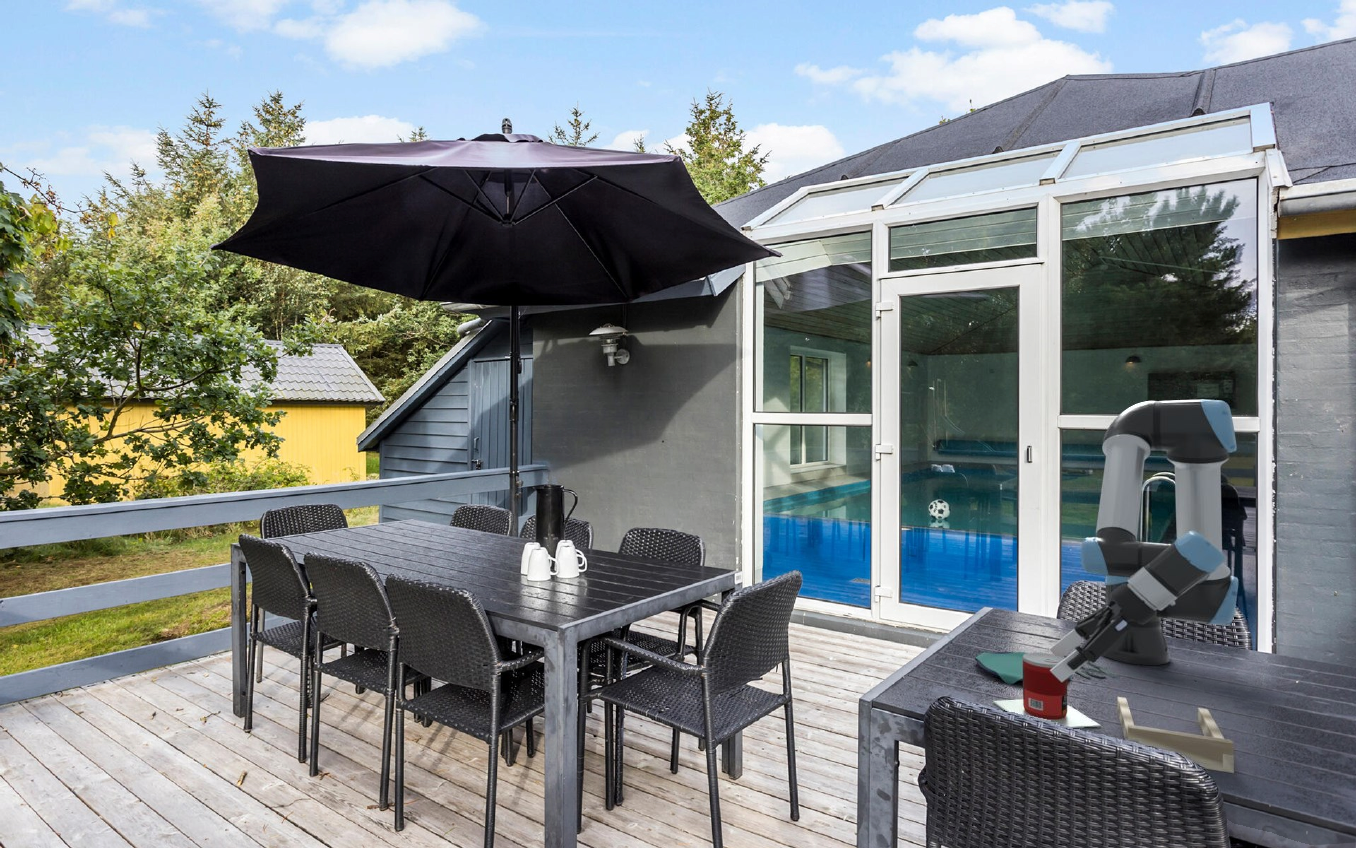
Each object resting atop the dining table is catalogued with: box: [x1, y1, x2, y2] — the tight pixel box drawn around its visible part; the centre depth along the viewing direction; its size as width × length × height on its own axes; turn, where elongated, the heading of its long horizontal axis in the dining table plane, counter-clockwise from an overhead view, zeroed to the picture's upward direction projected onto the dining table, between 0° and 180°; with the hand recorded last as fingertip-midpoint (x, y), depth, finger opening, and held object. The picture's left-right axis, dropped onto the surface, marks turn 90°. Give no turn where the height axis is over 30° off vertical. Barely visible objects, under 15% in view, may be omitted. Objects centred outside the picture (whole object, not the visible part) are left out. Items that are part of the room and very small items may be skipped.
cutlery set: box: [974, 651, 1120, 685], centre depth 171 cm, size 20×30×2 cm, turn 94°
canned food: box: [1022, 652, 1068, 720], centre depth 146 cm, size 8×8×11 cm
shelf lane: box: [1116, 696, 1235, 774], centre depth 134 cm, size 22×15×5 cm
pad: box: [993, 698, 1101, 729], centre depth 146 cm, size 14×14×1 cm
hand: (1054, 664), depth 145 cm, fingers open, 13 cm apart
